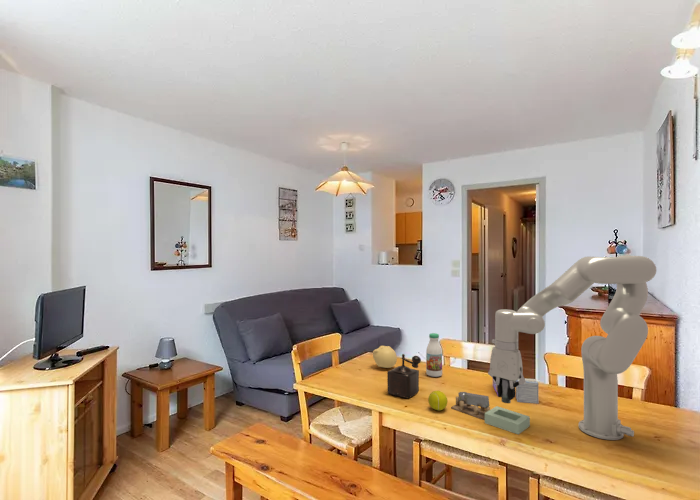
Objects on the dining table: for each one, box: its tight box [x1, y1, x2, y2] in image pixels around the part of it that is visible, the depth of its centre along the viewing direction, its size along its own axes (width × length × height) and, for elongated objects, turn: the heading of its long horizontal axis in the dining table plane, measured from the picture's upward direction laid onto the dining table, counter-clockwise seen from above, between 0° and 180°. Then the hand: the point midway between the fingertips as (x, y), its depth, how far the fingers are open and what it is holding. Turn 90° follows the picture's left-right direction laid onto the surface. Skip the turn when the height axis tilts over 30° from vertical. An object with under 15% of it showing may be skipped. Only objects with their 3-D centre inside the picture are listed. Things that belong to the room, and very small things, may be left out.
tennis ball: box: [427, 390, 448, 411], centre depth 146 cm, size 7×7×7 cm
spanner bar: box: [457, 391, 490, 408], centre depth 144 cm, size 12×3×4 cm, turn 42°
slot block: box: [484, 405, 531, 435], centre depth 133 cm, size 12×9×4 cm
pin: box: [501, 378, 512, 404], centre depth 133 cm, size 3×3×10 cm
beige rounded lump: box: [372, 345, 398, 369], centre depth 200 cm, size 11×12×11 cm
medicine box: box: [515, 377, 540, 405], centre depth 154 cm, size 8×4×9 cm, turn 74°
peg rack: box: [450, 396, 491, 421], centre depth 144 cm, size 14×7×4 cm, turn 42°
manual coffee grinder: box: [386, 353, 422, 399], centre depth 162 cm, size 16×11×18 cm
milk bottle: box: [425, 332, 443, 378], centre depth 187 cm, size 8×8×20 cm
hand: (506, 396), depth 133 cm, fingers closed on pin, 3 cm apart
